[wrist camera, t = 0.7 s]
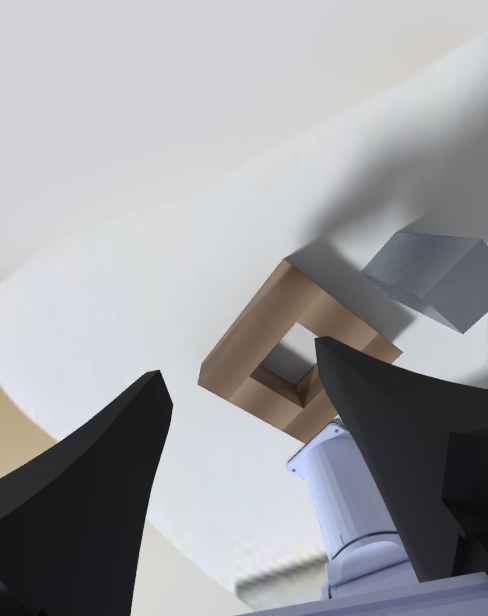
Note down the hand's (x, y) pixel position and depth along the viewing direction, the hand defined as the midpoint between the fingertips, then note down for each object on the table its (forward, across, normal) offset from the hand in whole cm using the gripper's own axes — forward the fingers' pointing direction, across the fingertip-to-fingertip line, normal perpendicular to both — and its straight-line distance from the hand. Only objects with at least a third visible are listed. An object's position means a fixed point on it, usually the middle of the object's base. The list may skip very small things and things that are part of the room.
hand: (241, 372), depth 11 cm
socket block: (+10, -4, +6) cm, 12 cm away
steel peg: (+10, -14, 0) cm, 17 cm away
